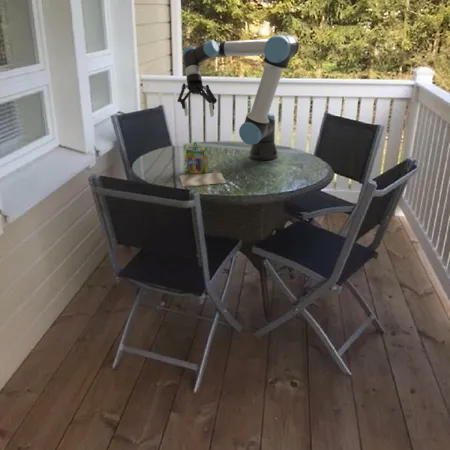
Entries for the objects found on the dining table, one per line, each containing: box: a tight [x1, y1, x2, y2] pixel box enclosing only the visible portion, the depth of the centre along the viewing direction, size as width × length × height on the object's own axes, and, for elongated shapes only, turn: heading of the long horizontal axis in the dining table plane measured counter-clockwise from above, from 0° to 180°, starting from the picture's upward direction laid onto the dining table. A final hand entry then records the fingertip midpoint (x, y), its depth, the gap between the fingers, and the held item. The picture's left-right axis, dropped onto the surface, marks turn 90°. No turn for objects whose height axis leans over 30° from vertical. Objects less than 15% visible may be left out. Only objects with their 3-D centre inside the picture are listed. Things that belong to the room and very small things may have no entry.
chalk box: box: [185, 141, 209, 175], centre depth 250 cm, size 9×9×15 cm
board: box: [179, 172, 227, 188], centre depth 240 cm, size 20×16×1 cm
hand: (199, 115), depth 253 cm, fingers open, 13 cm apart
